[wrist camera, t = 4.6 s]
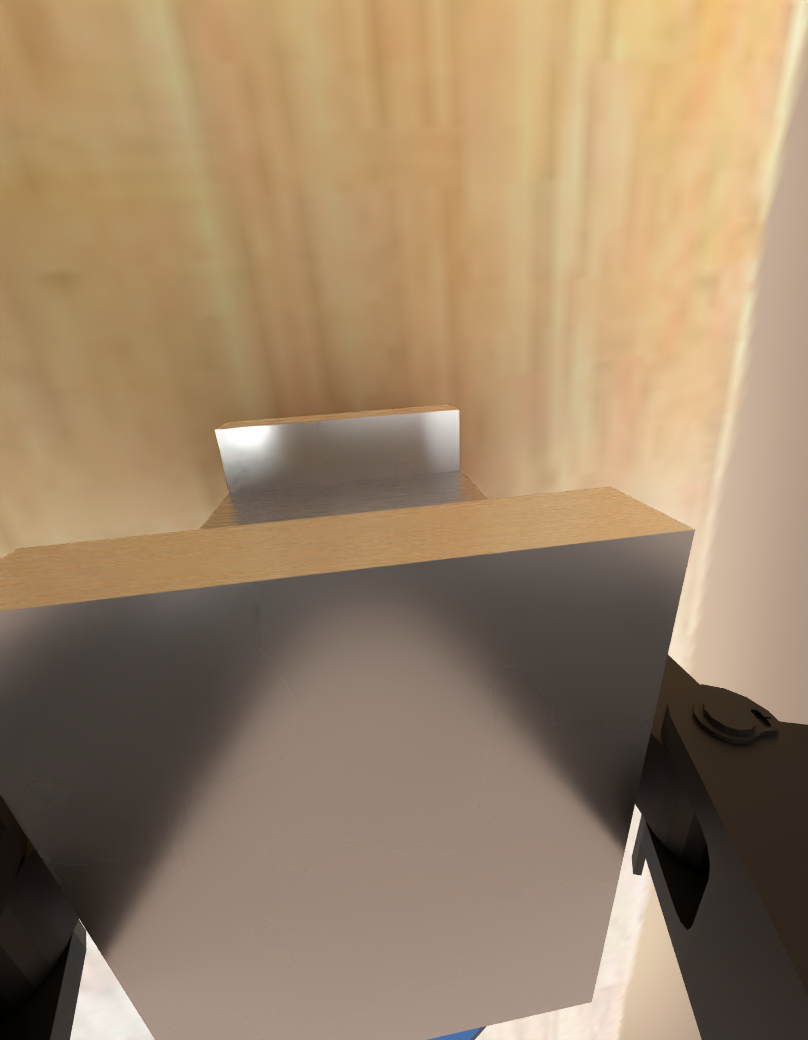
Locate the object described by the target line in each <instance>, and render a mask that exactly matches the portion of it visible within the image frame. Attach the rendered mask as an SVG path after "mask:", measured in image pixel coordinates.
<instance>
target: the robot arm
mask: <svg viewBox="0 0 808 1040" xmlns="http://www.w3.org/2000/svg"><path fill="white" fill-rule="evenodd" d="M635 804H636V806H637V807H638V809H639V811H640V812H641V814H642V815H641V820H640V824H639V828H638V833H637V837H636V841H635V846H634V850H633V854H632V866H633V874H636V875H641V874H642V870H643V866H644V862H645V858H646V861H647V864H648V867H649V870H650V874H651V877H652V880H653V883H654V887H655V890H656V893H657V896H658V899H659V903H660V906H661V909H662V912H663V915H664V919H665V922H666V925H667V929H668V932H669V935H670V938H671V941H672V945H673V948H674V951H675V954H676V958H677V961H678V964H679V967H680V970H681V973H682V977H683V980H684V983H685V987H686V990H687V993H688V996H689V1000H690V1003H691V1006H692V1009H693V1012H694V1016H695V1019H696V1022H697V1025H698V1029H699V1032H700V1035H701V1038H702V1040H808V725H804V724H796V723H787V722H780V721H778V720H777V719H776V718H775V717H774V716H773V715H772V714H771V713H770V712H769V711H768V710H766V709H764V708H763V707H761V706H760V705H758V704H756V703H755V702H753V701H751V700H750V699H748V698H747V697H744V696H742V695H739V694H737V693H734V692H732V691H729V690H727V689H724V688H719V687H713V686H708V685H703V684H702V685H700V684H698V683H697V682H696V681H695V680H694V679H693V678H692V677H691V676H690V675H689V674H688V673H687V672H686V671H685V670H684V669H683V668H682V667H680V666H679V665H678V664H677V663H676V662H675V661H674V660H673V659H672V658H671V657H670V656H669V655H667V659H666V664H665V669H664V673H663V678H662V682H661V687H660V691H659V696H658V701H657V705H656V710H655V714H654V719H653V723H652V728H651V733H650V737H649V742H648V746H647V751H646V756H645V760H644V765H643V769H642V774H641V778H640V783H639V788H638V792H637V797H636V801H635ZM85 954H86V930H85V928H84V927H83V925H82V924H81V922H80V920H79V917H78V916H77V914H76V913H75V911H74V909H73V908H72V906H71V905H70V903H69V901H68V900H67V898H66V897H65V895H64V893H63V892H62V890H61V889H60V887H59V885H58V884H57V882H56V881H55V879H54V878H53V876H52V874H51V873H50V871H49V870H48V868H47V866H46V865H45V863H44V862H43V860H42V858H41V857H40V855H39V854H38V852H37V850H36V849H35V847H34V846H33V844H32V842H31V841H30V839H29V838H28V836H27V834H26V833H25V831H24V830H23V828H22V826H21V825H20V823H19V822H18V820H17V818H16V817H15V815H14V814H13V812H12V811H11V809H10V807H9V806H8V804H7V803H6V801H5V799H4V798H3V796H2V795H1V793H0V1040H70V1036H71V1030H72V1025H73V1020H74V1014H75V1009H76V1003H77V998H78V992H79V987H80V981H81V976H82V970H83V965H84V959H85Z"/></svg>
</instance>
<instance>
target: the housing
mask: <svg viewBox="0 0 808 1040" xmlns="http://www.w3.org/2000/svg"><path fill="white" fill-rule="evenodd" d="M215 433H216V437H217V442H218V446H219V450H220V455H221V459H222V463H223V468H224V472H225V476H226V481H227V485H228V489H229V494H228V495H227V497H226V498H225V499H224V500H223V502H222V503H221V504H220V505H219V506H218V508H217V509H216V510H215V511H214V513H213V514H212V515H211V516H210V517H209V519H208V520H207V521H206V522H205V524H204V525H203V526H202V527H201V529H200V530H192V531H182V532H173V533H163V534H154V535H144V536H134V537H125V538H115V539H106V540H96V541H86V542H77V543H67V544H58V545H48V546H39V547H29V548H19V549H17V550H15V551H13V552H12V553H10V554H8V555H7V556H5V557H3V558H2V559H0V793H1V795H2V796H3V798H4V799H5V801H6V803H7V804H8V806H9V807H10V809H11V811H12V812H13V814H14V815H15V817H16V818H17V820H18V822H19V823H20V825H21V826H22V828H23V830H24V831H25V833H26V834H27V836H28V838H29V839H30V841H31V842H32V844H33V846H34V847H35V849H36V850H37V852H38V854H39V855H40V857H41V858H42V860H43V862H44V863H45V865H46V866H47V868H48V870H49V871H50V873H51V874H52V876H53V878H54V879H55V881H56V882H57V884H58V885H59V887H60V889H61V890H62V892H63V893H64V895H65V897H66V898H67V900H68V901H69V903H70V905H71V906H72V908H73V909H74V911H75V913H76V914H77V916H78V917H79V919H80V921H81V922H82V924H83V925H84V927H85V929H86V930H87V932H88V933H89V935H90V937H91V938H92V940H93V941H94V943H95V944H96V946H97V948H98V949H99V951H100V952H101V954H102V956H103V957H104V959H105V960H106V962H107V964H108V965H109V967H110V968H111V970H112V972H113V973H114V975H115V976H116V978H117V980H118V981H119V983H120V984H121V986H122V988H123V989H124V991H125V992H126V994H127V996H128V997H129V999H130V1000H131V1002H132V1004H133V1005H134V1007H135V1008H136V1010H137V1011H138V1013H139V1015H140V1016H141V1018H142V1019H143V1021H144V1023H145V1024H146V1026H147V1027H148V1029H149V1031H150V1032H151V1034H152V1035H153V1037H154V1039H155V1040H428V1039H432V1038H436V1037H441V1036H445V1035H449V1034H454V1033H458V1032H463V1031H467V1030H471V1029H476V1028H480V1027H484V1026H489V1025H493V1024H497V1023H502V1022H506V1021H511V1020H515V1019H519V1018H524V1017H528V1016H532V1015H537V1014H541V1013H545V1012H550V1011H554V1010H559V1009H563V1008H567V1007H572V1006H576V1005H580V1004H585V1003H589V1002H592V998H593V993H594V989H595V984H596V980H597V975H598V971H599V966H600V961H601V957H602V952H603V948H604V943H605V939H606V934H607V929H608V925H609V920H610V916H611V911H612V906H613V902H614V897H615V893H616V888H617V884H618V879H619V874H620V870H621V865H622V861H623V856H624V852H625V847H626V842H627V838H628V833H629V829H630V824H631V820H632V815H633V810H634V806H635V801H636V797H637V792H638V788H639V783H640V778H641V774H642V769H643V765H644V760H645V756H646V751H647V746H648V742H649V737H650V733H651V728H652V723H653V719H654V714H655V710H656V705H657V701H658V696H659V691H660V687H661V682H662V678H663V673H664V669H665V664H666V659H667V655H668V650H669V646H670V641H671V637H672V632H673V627H674V623H675V618H676V614H677V609H678V605H679V600H680V595H681V591H682V586H683V582H684V577H685V573H686V568H687V563H688V559H689V554H690V550H691V545H692V540H693V536H694V531H695V529H693V528H691V527H689V526H687V525H685V524H683V523H681V522H679V521H677V520H675V519H673V518H671V517H669V516H667V515H665V514H663V513H661V512H659V511H657V510H655V509H653V508H651V507H649V506H647V505H646V504H644V503H642V502H640V501H638V500H636V499H634V498H632V497H630V496H628V495H626V494H624V493H622V492H620V491H618V490H616V489H614V488H612V487H604V488H594V489H585V490H575V491H565V492H556V493H546V494H537V495H527V496H518V497H508V498H498V499H489V500H488V499H487V498H486V497H485V496H484V495H483V494H482V493H481V492H480V491H479V490H478V489H477V488H476V487H475V486H474V485H473V484H472V483H471V482H470V481H469V479H468V478H467V477H466V476H465V475H464V474H463V473H462V472H461V471H460V425H459V409H457V408H455V407H453V406H451V405H449V404H444V405H432V406H420V407H407V408H395V409H382V410H370V411H358V412H345V413H333V414H321V415H308V416H296V417H284V418H271V419H259V420H247V421H234V422H227V423H225V424H224V425H222V426H220V427H219V428H217V429H215Z"/></svg>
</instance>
